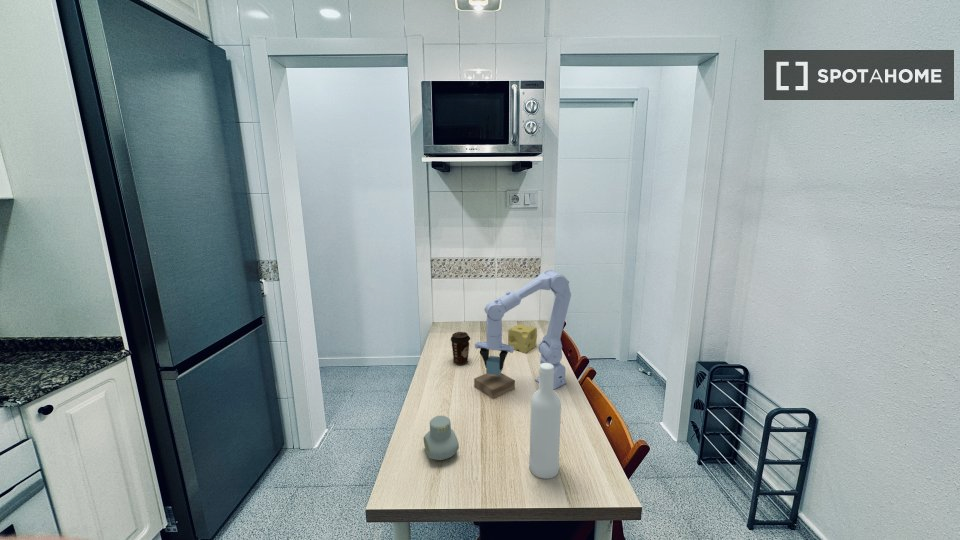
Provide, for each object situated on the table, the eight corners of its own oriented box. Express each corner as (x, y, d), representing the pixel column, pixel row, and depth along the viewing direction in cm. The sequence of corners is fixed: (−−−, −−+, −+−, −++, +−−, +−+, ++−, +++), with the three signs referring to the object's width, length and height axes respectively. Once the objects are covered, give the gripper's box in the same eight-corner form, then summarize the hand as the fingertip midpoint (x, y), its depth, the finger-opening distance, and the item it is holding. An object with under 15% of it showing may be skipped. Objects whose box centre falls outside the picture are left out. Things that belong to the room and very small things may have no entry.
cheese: (526, 354, 168) (526, 333, 166) (506, 348, 175) (506, 328, 173) (537, 346, 176) (537, 327, 174) (518, 341, 183) (518, 322, 181)
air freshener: (422, 444, 108) (420, 414, 106) (448, 437, 111) (447, 407, 109) (432, 469, 98) (431, 436, 96) (461, 460, 101) (460, 428, 99)
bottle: (555, 457, 102) (558, 358, 96) (562, 479, 94) (566, 372, 88) (526, 458, 102) (528, 359, 95) (531, 480, 94) (533, 373, 88)
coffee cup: (471, 358, 164) (471, 331, 162) (469, 366, 156) (469, 338, 153) (452, 357, 165) (452, 330, 162) (449, 366, 157) (448, 337, 154)
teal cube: (502, 369, 139) (502, 357, 138) (499, 375, 135) (499, 362, 134) (490, 367, 141) (490, 355, 140) (486, 373, 136) (486, 361, 135)
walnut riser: (514, 390, 138) (514, 380, 137) (492, 400, 131) (492, 390, 131) (495, 378, 146) (495, 369, 146) (474, 387, 140) (474, 378, 139)
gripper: (515, 332, 136) (515, 365, 139) (479, 328, 140) (479, 360, 143) (511, 339, 129) (511, 374, 132) (473, 334, 134) (473, 368, 136)
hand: (494, 367), depth 137 cm, fingers closed on teal cube, 5 cm apart
